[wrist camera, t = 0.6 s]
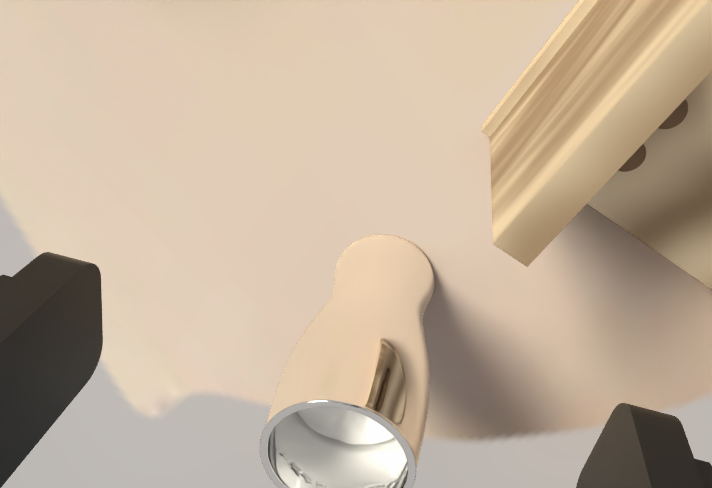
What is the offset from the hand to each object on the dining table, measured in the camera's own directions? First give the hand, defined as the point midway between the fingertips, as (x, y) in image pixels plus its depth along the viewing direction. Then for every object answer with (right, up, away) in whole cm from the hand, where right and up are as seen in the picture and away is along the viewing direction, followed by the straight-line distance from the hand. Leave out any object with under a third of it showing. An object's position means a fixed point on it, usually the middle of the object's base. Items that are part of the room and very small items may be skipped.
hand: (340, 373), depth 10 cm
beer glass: (+2, 0, +30) cm, 30 cm away
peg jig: (+19, +6, +23) cm, 30 cm away
